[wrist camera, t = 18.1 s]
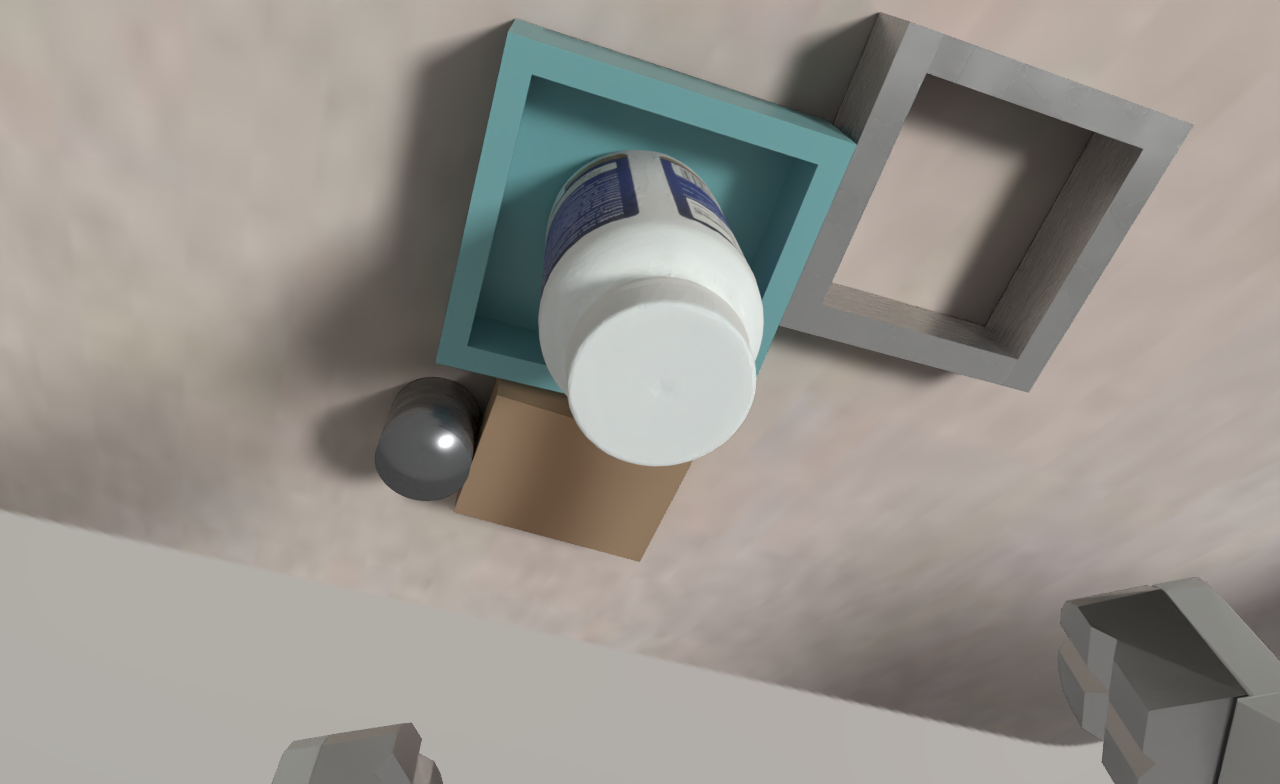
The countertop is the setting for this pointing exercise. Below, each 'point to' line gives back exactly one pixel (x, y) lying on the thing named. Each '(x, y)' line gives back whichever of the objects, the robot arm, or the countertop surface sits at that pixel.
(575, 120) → the tray
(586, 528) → the tan cardboard-like brick
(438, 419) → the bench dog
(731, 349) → the pill bottle
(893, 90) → the collar
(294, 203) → the countertop surface
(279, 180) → the countertop surface
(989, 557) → the countertop surface
